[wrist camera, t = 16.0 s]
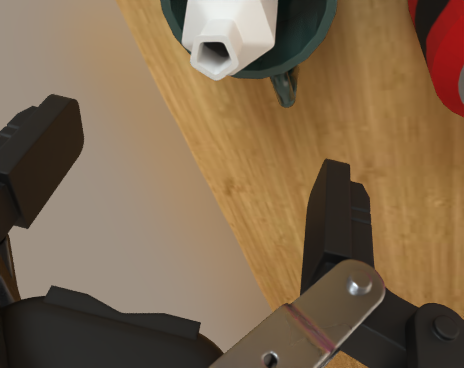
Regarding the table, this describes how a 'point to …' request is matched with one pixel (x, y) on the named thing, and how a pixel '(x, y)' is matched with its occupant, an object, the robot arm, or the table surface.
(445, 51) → the soda can
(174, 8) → the teal plastic cup
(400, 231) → the table surface
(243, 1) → the perfume bottle
